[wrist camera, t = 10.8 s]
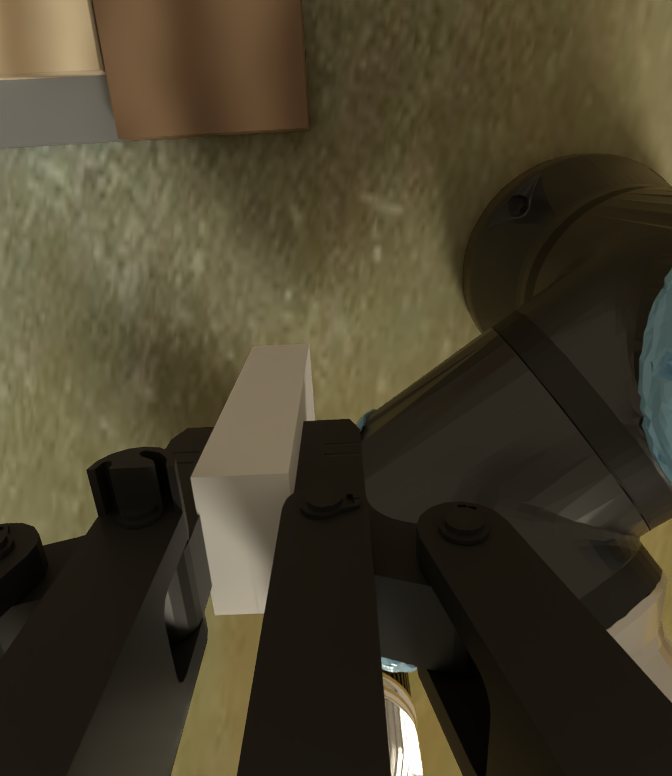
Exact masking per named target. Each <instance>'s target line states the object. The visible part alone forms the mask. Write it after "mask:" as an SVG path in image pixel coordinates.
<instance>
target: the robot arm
mask: <svg viewBox="0 0 672 776" xmlns="http://www.w3.org/2000/svg"><path fill="white" fill-rule="evenodd" d="M463 289H464V295H465V300H466V304H467V307H468V310H469V312H470V315H471V317H472V319H473V321H474V323H475V324H476V326H477V327H478V329H479V330H480V332H481V333H482V334H481V335H479V336H478V337H477V338H475V339H474V340H472V341H471V342H470V343H468V344H467V345H466V346H464V347H463V348H461V349H460V350H459V351H457V352H456V353H455V354H453V355H452V356H450V357H449V358H448V359H446V360H445V361H444V362H442V363H441V364H439V365H438V366H437V367H435V368H434V369H433V370H431V371H430V372H428V373H427V374H426V375H424V376H423V377H422V378H420V379H419V380H417V381H416V382H415V383H413V384H412V385H411V386H409V387H408V388H406V389H405V390H404V391H402V392H401V393H400V394H398V395H397V396H395V397H394V398H393V399H391V400H390V401H389V402H387V403H386V404H384V405H383V406H382V407H380V408H379V409H378V410H375V409H372V410H370V411H369V412H367V413H366V414H364V415H363V416H362V417H361V418H360V420H359V421H358V423H357V424H356V425H355V424H354V423H353V422H352V421H351V420H350V419H339V420H317V421H315V414H314V401H313V387H312V374H311V360H310V347H309V344H291V345H271V346H253V347H252V349H251V351H250V353H249V355H248V358H247V360H246V362H245V364H244V366H243V368H242V370H241V372H240V374H239V377H238V379H237V381H236V383H235V385H234V387H233V389H232V391H231V393H230V395H229V398H228V400H227V402H226V404H225V406H224V408H223V410H222V412H221V414H220V416H219V419H218V421H217V423H216V425H215V427H205V428H187V429H186V430H184V431H183V432H182V433H180V434H179V435H177V436H176V437H175V438H173V439H172V440H171V441H170V443H169V444H168V446H167V448H166V449H162V448H159V447H139V448H132V449H126V450H123V451H120V452H116V453H113V454H110V455H108V456H106V457H104V458H102V459H100V460H98V461H96V462H95V463H94V464H93V465H92V466H90V467H89V468H88V469H87V474H88V478H89V482H90V486H91V490H92V493H93V497H94V501H95V505H96V509H97V513H98V518H97V519H96V520H95V522H94V523H93V525H92V526H91V528H90V529H89V531H88V532H87V534H86V535H84V536H81V537H77V538H73V539H69V540H64V541H60V542H56V543H52V544H48V545H42V542H41V539H40V536H39V533H38V532H37V530H36V529H35V527H33V526H30V525H27V524H24V523H6V524H0V776H171V772H172V769H173V765H174V761H175V757H176V754H177V750H178V746H179V743H180V739H181V735H182V732H183V728H184V724H185V721H186V717H187V713H188V710H189V706H190V702H191V699H192V695H193V691H194V688H195V684H196V680H197V677H198V673H199V669H200V666H201V662H202V658H203V655H204V651H205V647H206V644H207V634H208V629H207V623H206V618H205V612H204V611H205V608H206V605H207V601H208V598H209V595H210V591H211V596H212V602H213V608H214V613H215V615H231V614H257V613H264V618H263V624H262V630H261V636H260V641H259V647H258V653H257V659H256V665H255V671H254V677H253V683H252V689H251V695H250V701H249V707H248V713H247V719H246V725H245V731H244V736H243V742H242V748H241V754H240V760H239V766H238V772H237V776H391V768H390V756H389V744H388V733H387V721H386V709H385V698H384V686H383V674H382V669H383V670H386V671H389V672H402V671H403V672H413V671H415V670H416V669H417V670H418V675H419V678H420V680H421V682H422V685H423V687H424V689H425V691H426V694H427V696H428V698H429V700H430V703H431V705H432V707H433V709H434V712H435V714H436V716H437V718H438V721H439V723H440V725H441V727H442V730H443V732H444V734H445V736H446V739H447V741H448V743H449V745H450V748H451V750H452V752H453V755H454V757H455V759H456V761H457V764H458V766H459V768H460V770H461V773H462V775H463V776H672V643H671V642H670V640H669V639H668V637H667V636H666V635H665V633H664V631H663V624H662V616H663V609H664V602H665V595H666V588H667V581H668V580H667V576H666V575H665V573H664V572H663V570H662V569H661V568H660V567H659V565H658V564H657V563H656V562H655V560H654V559H653V558H652V556H651V555H650V554H649V552H648V551H647V550H646V549H645V547H644V546H643V545H642V543H641V542H640V540H639V538H640V537H641V536H642V535H644V534H645V533H646V532H648V531H649V530H651V529H653V528H655V527H657V526H658V525H660V524H662V523H664V522H665V521H667V520H669V519H671V518H672V187H671V186H670V185H669V184H668V183H667V182H666V181H665V180H664V179H663V178H662V177H661V176H660V175H659V174H657V173H656V172H655V171H653V170H652V169H650V168H648V167H647V166H645V165H643V164H641V163H638V162H636V161H633V160H630V159H627V158H624V157H620V156H615V155H609V154H580V155H570V156H565V157H560V158H556V159H553V160H550V161H547V162H544V163H542V164H539V165H537V166H535V167H533V168H531V169H529V170H527V171H526V172H524V173H522V174H521V175H519V176H518V177H517V178H515V179H514V180H513V181H511V182H510V183H509V184H508V185H506V186H505V187H504V188H503V189H502V190H501V191H500V192H499V193H498V194H497V195H496V196H495V197H494V198H493V200H492V201H491V202H490V203H489V205H488V206H487V207H486V209H485V210H484V211H483V213H482V215H481V216H480V218H479V220H478V221H477V223H476V225H475V227H474V229H473V232H472V234H471V237H470V239H469V242H468V245H467V249H466V253H465V258H464V265H463Z"/></svg>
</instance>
